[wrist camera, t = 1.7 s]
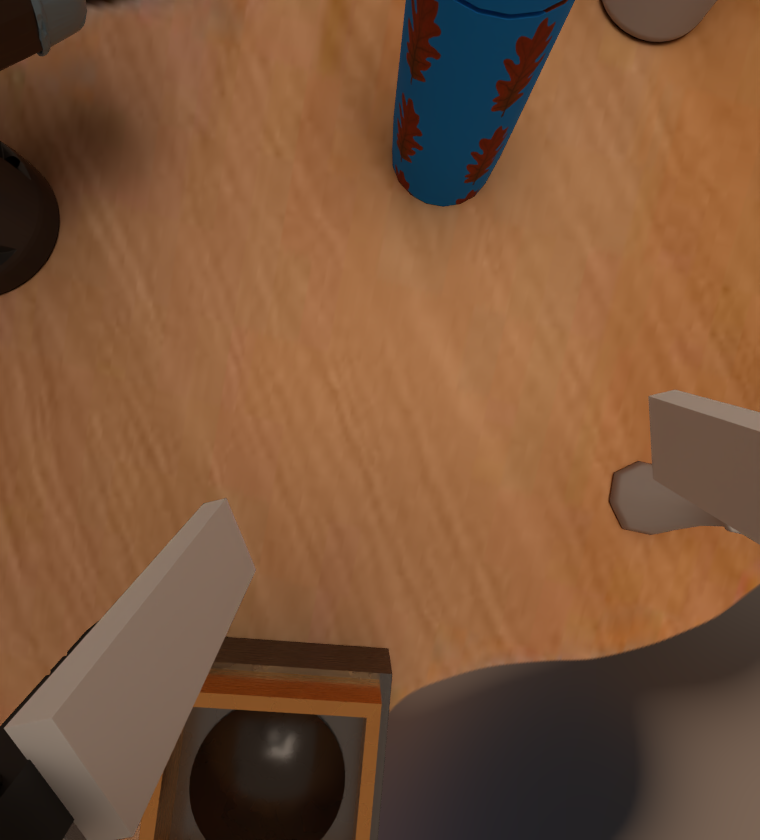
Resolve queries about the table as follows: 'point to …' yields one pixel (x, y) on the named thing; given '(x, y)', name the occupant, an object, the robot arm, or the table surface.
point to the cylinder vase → (657, 17)
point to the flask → (653, 504)
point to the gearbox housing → (279, 747)
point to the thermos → (465, 88)
